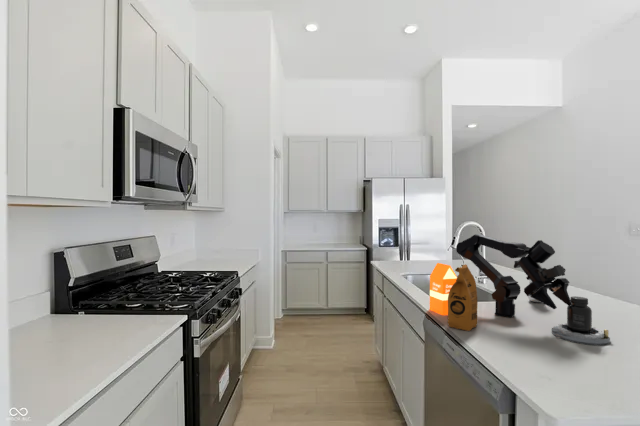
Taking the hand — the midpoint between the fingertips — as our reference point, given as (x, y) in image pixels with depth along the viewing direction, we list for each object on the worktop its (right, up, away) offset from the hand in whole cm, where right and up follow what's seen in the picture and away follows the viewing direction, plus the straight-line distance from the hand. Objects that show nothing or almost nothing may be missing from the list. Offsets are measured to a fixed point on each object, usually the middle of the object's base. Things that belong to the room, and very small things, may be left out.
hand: (563, 307), depth 126 cm
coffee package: (-33, -9, +7) cm, 35 cm away
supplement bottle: (+2, -8, -4) cm, 9 cm away
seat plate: (+2, -9, -5) cm, 10 cm away
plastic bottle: (+15, -9, +42) cm, 45 cm away
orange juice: (-34, -9, +25) cm, 43 cm away
